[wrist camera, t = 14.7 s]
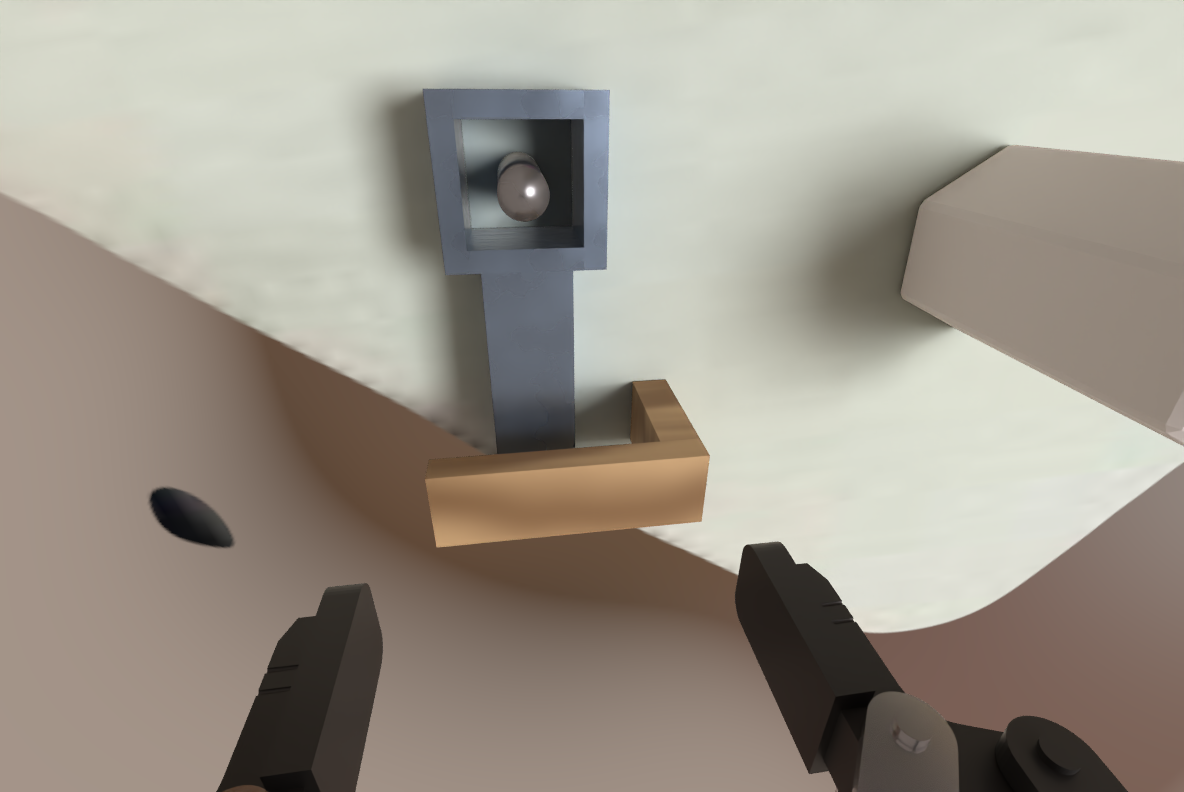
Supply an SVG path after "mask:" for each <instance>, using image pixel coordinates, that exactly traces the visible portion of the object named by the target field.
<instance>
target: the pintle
mask: <svg viewBox="0 0 1184 792" xmlns="http://www.w3.org/2000/svg"><path fill="white" fill-rule="evenodd" d="M497 197H498V201H499V204H500V206H501V208H502V210H503V211H504V212H505V213H506V214H507V215H508V216H509V217H511V218H512V219H515V220H517V221H531V220H534V219H536V218H538V217H539V216H541V215H542V214H543V212H544V211H545V210H546V208H547V206H548V203H549V198H550V192H549V187H548V184H547V182H546V180H545V178H544V176H543V174H542V173H541V171H540V169H539V167H538V165H537V163H536V162H535V160H534V159H533V158H532V157H531V156H529V155H527V154H525V153H522V152H514V153H510V154H508V155H507V156H505V157H504V158H503V159H502V161H501V162H500V164H499V167H498V179H497Z"/></svg>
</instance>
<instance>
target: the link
mask: <svg viewBox="0 0 1184 792" xmlns="http://www.w3.org/2000/svg"><path fill="white" fill-rule="evenodd" d="M423 95H424V103H425V111H426V120H427V128H428V136H429V144H430V152H431V161H432V169H433V177H434V185H435V193H436V201H437V210H438V218H439V226H440V234H441V242H442V251H443V259H444V267H445V275H465V274H481V279H482V290H483V301H484V312H485V323H486V334H487V345H488V356H489V367H490V378H491V389H492V400H493V411H494V421H495V432H496V443H497V454H507V453H520V452H533V451H546V450H558V449H571V448H575V404H574V317H573V271H576V270H604V269H606V267H607V210H608V153H609V96H610V90H514V89H423ZM461 119H571V154H572V226H552V227H513V228H473V229H471V219H470V208H469V198H468V187H467V177H466V166H465V156H464V146H463V135H462V125H461Z"/></svg>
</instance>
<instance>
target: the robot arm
mask: <svg viewBox="0 0 1184 792" xmlns="http://www.w3.org/2000/svg"><path fill="white" fill-rule="evenodd" d="M735 604H736V609H737V614H738V618H739V621H740V623H741V625H742V627H743V629H744V632H745V634H746V636H747V638H748V641H749V643H750V645H751V647H752V649H753V651H754V654H755V656H756V658H757V660H758V663H759V665H760V667H761V669H762V671H763V674H764V676H765V678H766V680H767V682H768V685H769V687H770V689H771V691H772V693H773V696H774V698H775V700H776V702H777V704H778V706H779V709H780V711H781V713H782V715H783V718H784V720H785V722H786V724H787V726H788V729H789V730H790V733H791V735H792V737H793V740H794V742H795V744H796V746H797V748H798V750H799V753H800V755H801V757H802V759H803V762H804V764H805V766H806V768H807V770H808V773H809V774H813V773H819V772H825V771H829V772H830V774H831V776H832V778H833V781H834V783H835V785H836V790H835V792H1128V791H1127V790H1126V789H1125V788H1124V787H1123V786H1122V784H1121V783H1120V782H1119V781H1118V779H1117V778H1116V777H1115V776H1114V775H1113V773H1112V772H1111V771H1110V770H1109V769H1108V768H1107V766H1106V765H1105V764H1104V763H1103V762H1102V760H1101V759H1100V758H1099V757H1098V756H1097V754H1096V753H1095V752H1094V751H1093V750H1092V749H1091V748H1090V747H1089V746H1088V745H1087V744H1086V743H1085V742H1084V741H1082V740H1081V739H1080V738H1079V737H1077V736H1076V735H1075V734H1074V733H1072V732H1070V731H1069V730H1067V729H1066V728H1064V727H1062V726H1060V725H1059V724H1057V723H1054V722H1052V721H1049V720H1047V719H1044V718H1040V717H1034V716H1021V717H1017V718H1015V719H1013V720H1012V721H1011V722H1010V723H1009V724H1008V726H1007V728H1006V729H1005V731H1004V732H999V731H994V730H988V729H983V728H977V727H972V726H966V725H961V724H957V723H952V722H949V721H946V720H945V719H944V718H943V717H942V716H941V715H940V714H939V713H938V712H937V711H936V710H935V709H933V708H932V707H931V706H930V705H928V704H927V703H925V702H924V701H922V700H920V699H918V698H916V697H914V696H912V695H909V694H906V693H905V692H904V691H903V690H902V689H901V687H900V686H899V685H898V683H897V682H896V680H895V679H894V677H893V676H892V675H891V673H890V671H889V670H888V668H887V667H886V666H885V664H884V663H883V661H882V660H881V658H880V657H879V655H878V654H877V652H876V651H875V649H874V648H873V646H872V645H871V643H870V642H869V640H868V639H867V637H866V636H865V634H864V633H863V631H862V630H861V628H860V627H859V625H858V624H857V623H856V622H854V621H853V617H852V615H851V614H850V612H849V611H848V609H847V608H846V606H845V605H843V604H842V600H841V599H840V597H839V596H838V594H837V593H836V591H835V590H834V588H833V587H832V585H831V584H830V583H829V581H828V580H827V579H826V578H825V577H823V576H822V575H821V574H820V573H818V572H817V571H816V570H815V569H814V568H812V567H811V566H810V565H809V564H807V563H805V564H795V562H794V560H793V559H792V557H791V556H790V554H789V552H788V551H787V549H786V548H785V546H784V545H783V544H782V543H781V542H769V543H760V544H750V545H746V546H745V547H744V549H743V552H742V558H741V563H740V569H739V575H738V580H737V586H736V592H735ZM382 653H383V642H382V633H381V629H380V625H379V621H378V617H377V613H376V609H375V605H374V601H373V598H372V594H371V590H370V587H369V585H368V584H367V583H364V584H355V585H345V586H335V587H328V588H327V589H326V590H325V592H324V595H323V597H322V600H321V602H320V605H319V608H318V611H317V614H316V616H313V617H304V618H298V619H297V620H296V621H295V622H294V624H293V625H292V626H291V627H290V628H289V630H288V631H287V632H286V633H285V634H284V635H283V637H282V638H281V639H280V640H279V641H278V643H277V646H276V648H275V650H274V653H273V655H272V658H271V661H270V663H269V665H268V668H267V669H268V671H267V673H266V674H265V675H264V678H263V680H262V683H261V685H260V688H259V694H258V696H256V698H255V700H254V703H253V705H252V708H251V710H250V713H249V715H248V717H247V720H246V722H245V725H244V728H243V730H242V732H241V735H240V737H239V740H238V742H237V745H236V747H235V750H234V752H233V755H232V757H231V760H230V762H229V765H228V767H227V770H226V772H225V775H224V777H223V780H222V782H221V784H220V786H219V788H218V790H217V791H216V792H355V790H356V785H357V780H358V776H359V771H360V765H361V761H362V756H363V751H364V746H365V742H366V736H367V732H368V727H369V722H370V717H371V713H372V708H373V703H374V698H375V692H376V688H377V683H378V678H379V674H380V669H381V663H382Z"/></svg>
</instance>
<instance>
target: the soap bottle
mask: <svg viewBox="0 0 1184 792" xmlns="http://www.w3.org/2000/svg"><path fill="white" fill-rule="evenodd" d="M901 296H902V298H903V299H904V300H906V301H908V302H909V303H911V304H913V305H915V306H916V307H918V308H920V309H922V310H924V311H925V312H927V313H929V314H931V315H932V316H934V317H936V318H938V319H940V320H941V321H943V322H945V323H947V324H948V325H950V326H952V327H954V328H956V329H957V330H959V331H961V332H963V333H965V334H967V335H969V336H971V337H973V338H975V339H977V340H979V341H981V342H983V343H985V344H986V345H988V346H990V347H992V348H994V349H996V350H998V351H1000V352H1002V353H1004V354H1006V355H1008V356H1010V357H1012V358H1014V359H1016V360H1018V361H1019V362H1021V363H1023V364H1025V365H1027V366H1029V367H1031V368H1033V369H1035V370H1037V371H1039V372H1041V373H1043V374H1045V375H1047V376H1049V377H1050V378H1052V379H1054V380H1056V381H1058V382H1060V383H1062V384H1064V385H1066V386H1068V387H1070V388H1072V389H1074V390H1076V391H1078V392H1080V393H1081V394H1083V395H1085V396H1087V397H1089V398H1091V399H1093V400H1095V401H1097V402H1099V403H1101V404H1103V405H1105V406H1107V407H1109V408H1111V409H1112V410H1114V411H1116V412H1118V413H1120V414H1122V415H1124V416H1126V417H1128V418H1130V419H1132V420H1134V421H1136V422H1138V423H1140V424H1142V425H1143V426H1145V427H1147V428H1149V429H1151V430H1153V431H1155V432H1157V433H1159V434H1161V435H1163V436H1165V437H1167V438H1169V439H1171V440H1173V441H1174V442H1176V443H1178V444H1180V445H1182V446H1184V162H1180V161H1170V160H1160V159H1150V158H1140V157H1130V156H1120V155H1110V154H1100V153H1090V152H1080V151H1070V150H1060V149H1050V148H1040V147H1031V146H1021V145H1011V146H1007V147H1006V148H1004V149H1003V150H1001V151H1000V152H998V153H997V154H995V155H993V156H992V157H990V158H989V159H987V160H986V161H984V162H983V163H981V164H979V165H978V166H976V167H975V168H973V169H972V170H970V171H969V172H967V173H965V174H964V175H962V176H961V177H959V178H958V179H956V180H955V181H953V182H952V183H950V184H948V185H947V186H945V187H944V188H942V189H941V190H939V191H938V192H936V193H934V194H933V195H931V196H930V197H928V198H927V199H925V200H924V201H923V203H922V204H921V205H920V207H919V211H918V216H917V220H916V225H915V229H914V234H913V238H912V243H911V247H910V252H909V256H908V261H907V265H906V270H905V274H904V279H903V284H902V288H901Z"/></svg>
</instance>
